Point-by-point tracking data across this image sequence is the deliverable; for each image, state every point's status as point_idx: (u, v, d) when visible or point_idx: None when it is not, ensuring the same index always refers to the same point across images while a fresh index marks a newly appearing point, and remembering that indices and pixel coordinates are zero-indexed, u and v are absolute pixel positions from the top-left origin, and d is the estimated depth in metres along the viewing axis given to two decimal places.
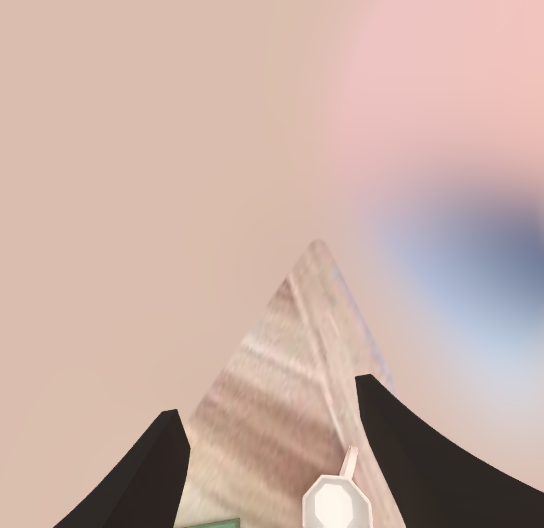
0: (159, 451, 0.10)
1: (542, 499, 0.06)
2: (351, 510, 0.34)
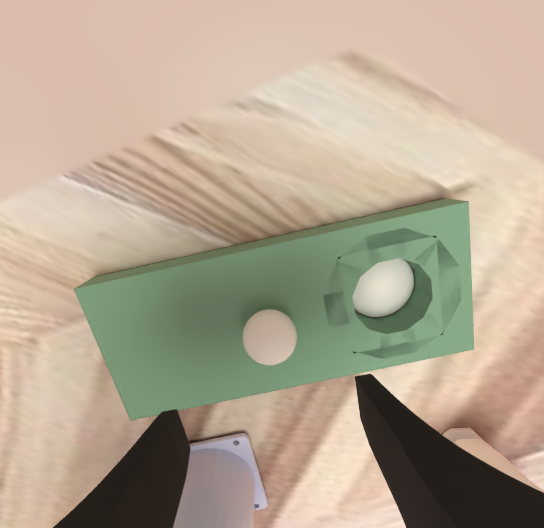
0: (160, 450, 0.10)
1: (542, 499, 0.06)
2: None
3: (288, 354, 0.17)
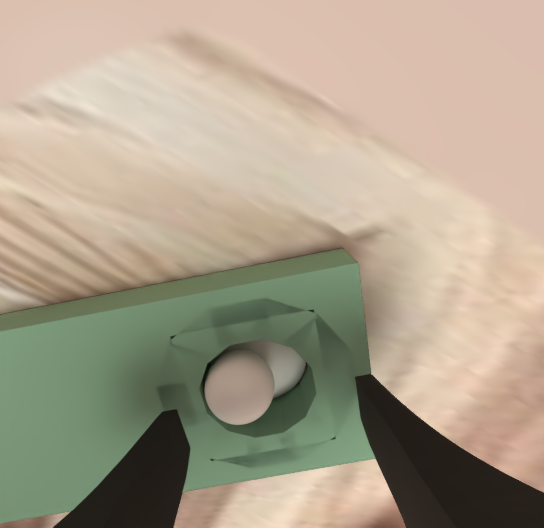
0: (159, 451, 0.10)
1: (542, 499, 0.06)
2: None
3: (219, 418, 0.13)
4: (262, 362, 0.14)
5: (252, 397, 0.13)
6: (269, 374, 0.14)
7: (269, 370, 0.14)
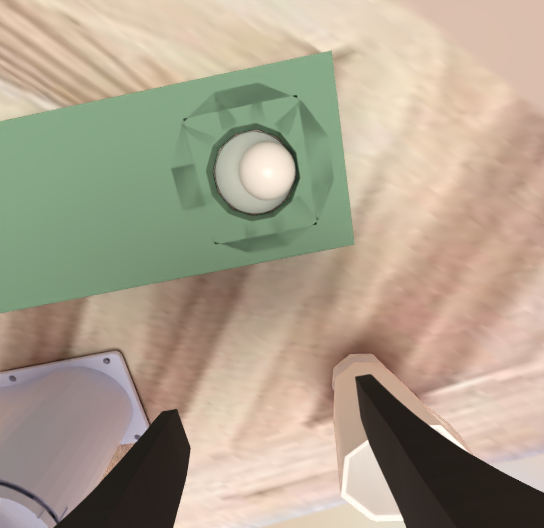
0: (159, 450, 0.10)
1: (542, 499, 0.06)
2: None
3: (276, 184, 0.16)
4: None
5: None
6: None
7: None
